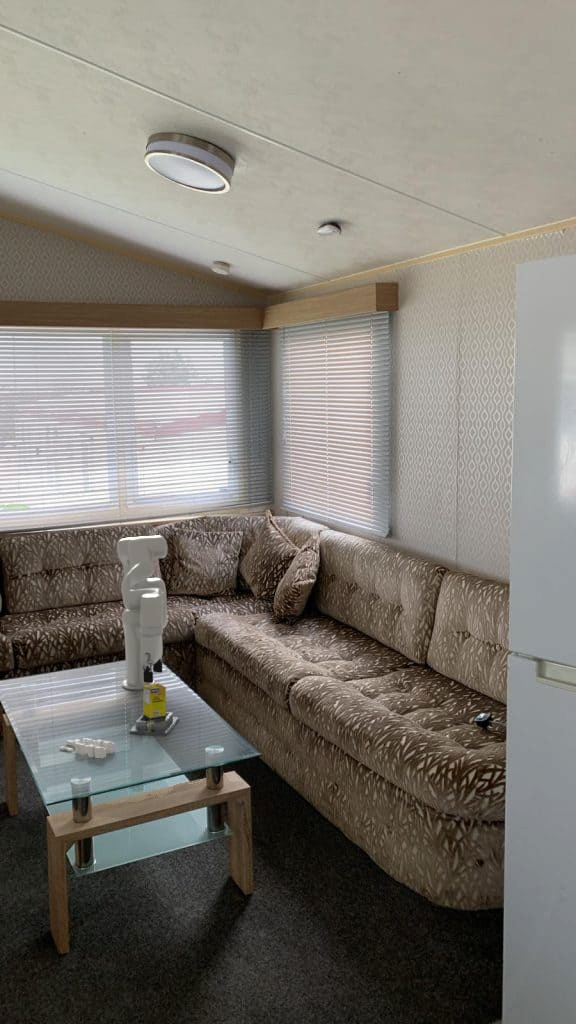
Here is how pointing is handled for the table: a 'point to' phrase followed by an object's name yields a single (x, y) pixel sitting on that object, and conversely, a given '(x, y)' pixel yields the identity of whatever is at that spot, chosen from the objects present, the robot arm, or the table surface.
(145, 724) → the grey square tray
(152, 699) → the supplement box
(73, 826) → the table surface
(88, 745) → the modular blocks
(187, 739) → the table surface
